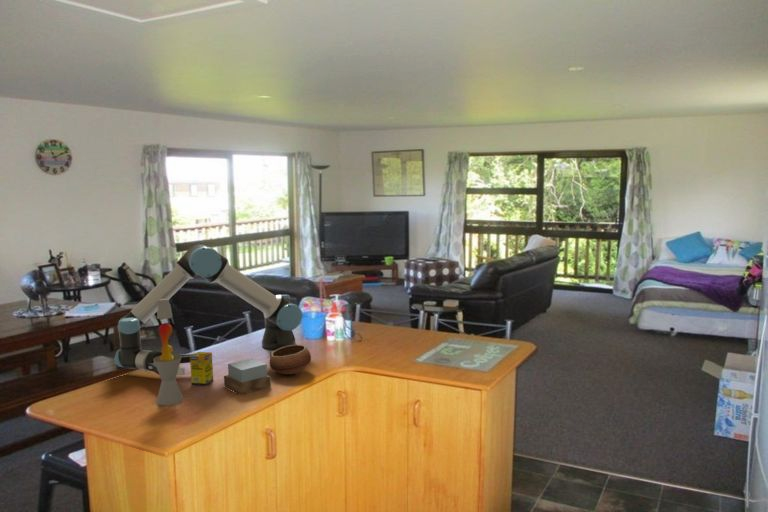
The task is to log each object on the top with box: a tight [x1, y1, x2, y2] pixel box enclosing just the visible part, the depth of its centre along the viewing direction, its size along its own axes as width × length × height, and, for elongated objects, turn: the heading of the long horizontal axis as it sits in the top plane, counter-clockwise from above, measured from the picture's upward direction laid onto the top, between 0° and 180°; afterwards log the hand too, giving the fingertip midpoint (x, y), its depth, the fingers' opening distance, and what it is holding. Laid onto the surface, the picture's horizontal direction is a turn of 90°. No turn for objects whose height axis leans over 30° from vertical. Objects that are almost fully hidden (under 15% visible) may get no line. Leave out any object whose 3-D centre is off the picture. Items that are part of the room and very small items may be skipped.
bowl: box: [269, 344, 312, 376], centre depth 227 cm, size 16×16×10 cm
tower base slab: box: [223, 374, 271, 396], centre depth 212 cm, size 12×12×4 cm
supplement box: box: [189, 351, 214, 386], centre depth 217 cm, size 6×6×11 cm
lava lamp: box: [153, 299, 184, 406], centre depth 198 cm, size 9×9×35 cm
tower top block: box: [227, 358, 268, 383], centre depth 211 cm, size 10×10×4 cm
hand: (196, 366), depth 217 cm, fingers open, 13 cm apart
